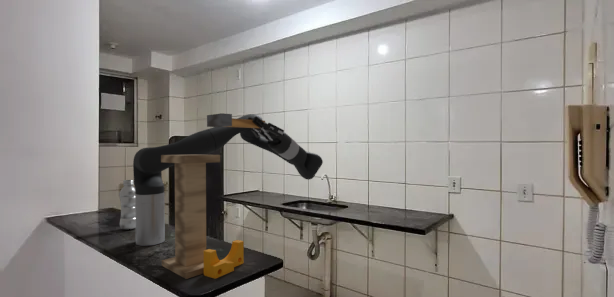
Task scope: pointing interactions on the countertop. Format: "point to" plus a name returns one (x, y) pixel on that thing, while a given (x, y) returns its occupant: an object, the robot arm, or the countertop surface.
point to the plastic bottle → (128, 205)
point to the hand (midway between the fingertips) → (251, 119)
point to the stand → (189, 213)
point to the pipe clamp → (223, 260)
